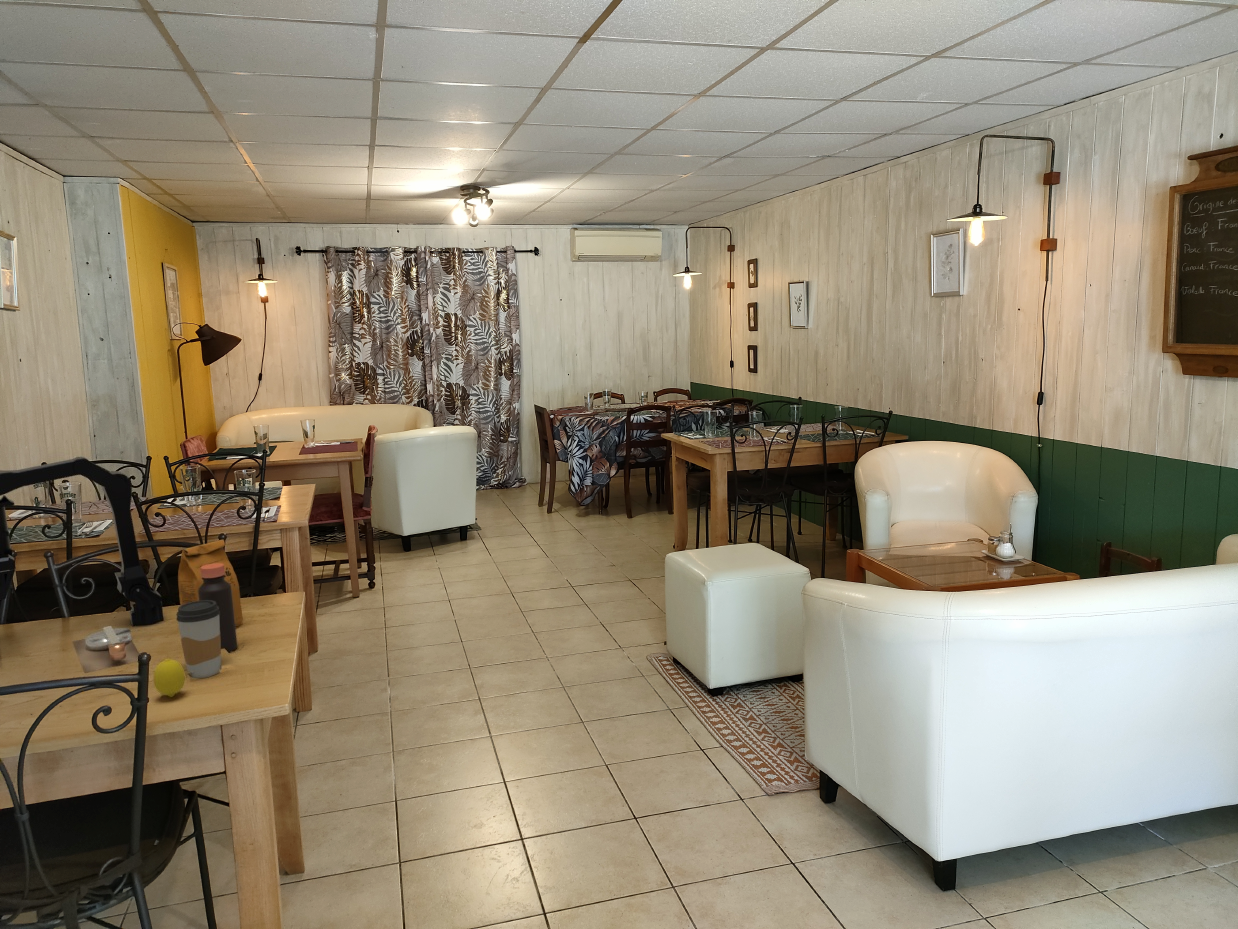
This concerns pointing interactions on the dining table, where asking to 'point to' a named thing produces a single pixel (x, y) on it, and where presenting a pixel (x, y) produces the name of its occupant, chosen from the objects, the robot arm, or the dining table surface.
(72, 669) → the dining table surface
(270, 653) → the dining table surface
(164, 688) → the lemon
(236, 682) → the dining table surface
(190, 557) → the coffee package
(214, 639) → the coffee cup
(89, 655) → the mounting board
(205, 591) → the bottle
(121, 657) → the pizza cutter
